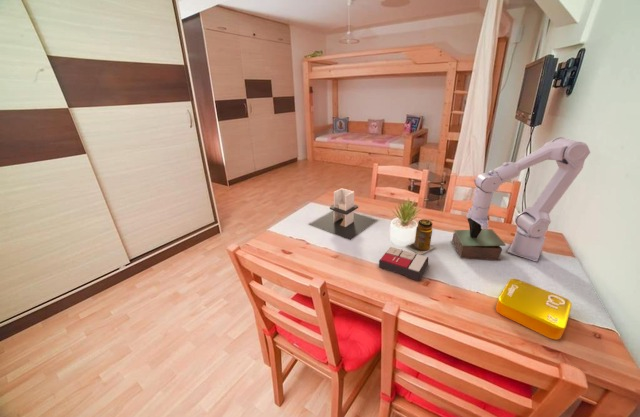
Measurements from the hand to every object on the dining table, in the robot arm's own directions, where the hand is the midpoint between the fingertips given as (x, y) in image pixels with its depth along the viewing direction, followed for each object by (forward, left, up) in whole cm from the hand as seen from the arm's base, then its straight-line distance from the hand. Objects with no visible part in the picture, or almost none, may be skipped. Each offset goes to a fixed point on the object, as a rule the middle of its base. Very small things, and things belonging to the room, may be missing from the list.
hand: (473, 236), depth 103 cm
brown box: (-1, -1, -6) cm, 7 cm away
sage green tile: (-1, -1, -1) cm, 2 cm away
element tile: (-23, +22, -7) cm, 33 cm away
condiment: (+16, +11, -7) cm, 21 cm away
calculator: (+15, +27, -7) cm, 32 cm away
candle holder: (+55, +14, -7) cm, 57 cm away
